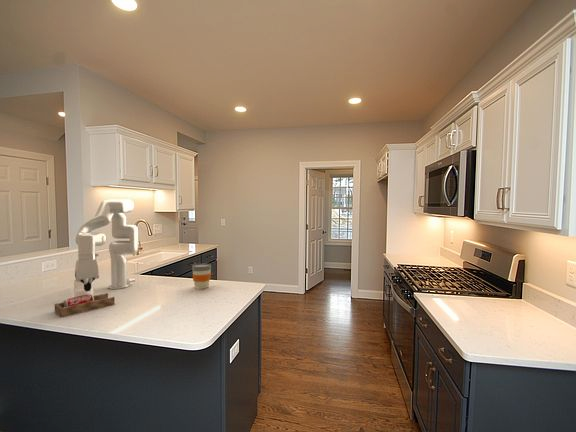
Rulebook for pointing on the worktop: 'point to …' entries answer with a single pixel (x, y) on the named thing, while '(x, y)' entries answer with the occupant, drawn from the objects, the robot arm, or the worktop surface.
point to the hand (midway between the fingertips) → (87, 290)
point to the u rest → (85, 305)
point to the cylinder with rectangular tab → (81, 288)
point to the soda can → (78, 300)
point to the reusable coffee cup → (201, 275)
